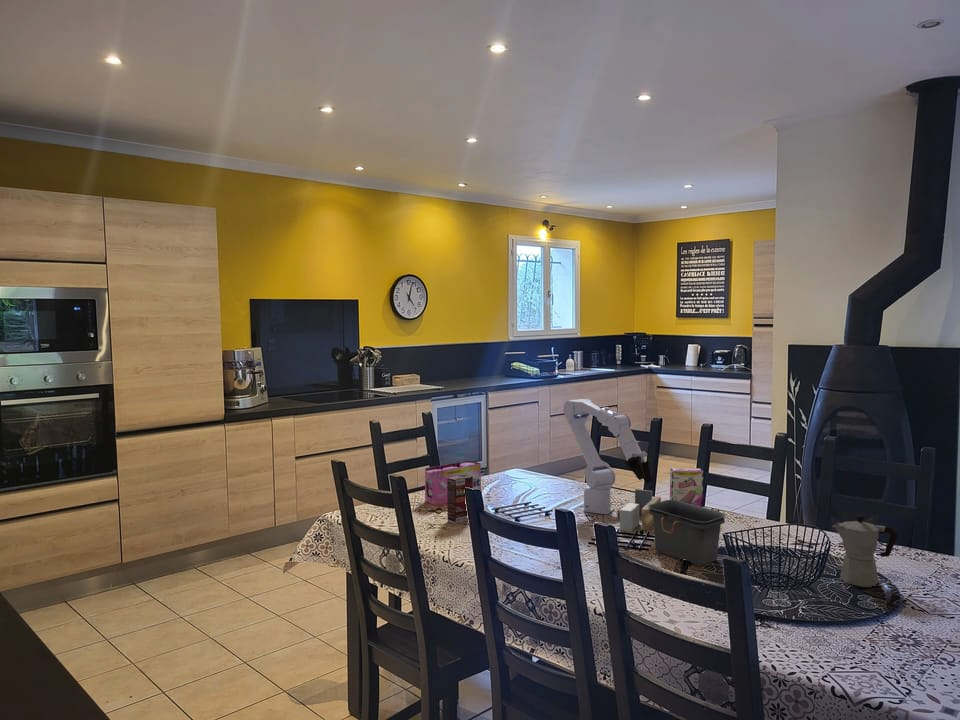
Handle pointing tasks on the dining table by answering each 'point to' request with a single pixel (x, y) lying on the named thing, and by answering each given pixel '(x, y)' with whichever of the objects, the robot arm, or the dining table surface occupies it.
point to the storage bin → (686, 531)
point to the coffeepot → (862, 550)
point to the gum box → (439, 475)
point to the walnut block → (618, 513)
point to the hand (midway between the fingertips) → (646, 480)
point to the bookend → (642, 498)
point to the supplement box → (457, 498)
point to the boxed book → (629, 517)
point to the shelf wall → (648, 514)
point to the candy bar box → (687, 485)
